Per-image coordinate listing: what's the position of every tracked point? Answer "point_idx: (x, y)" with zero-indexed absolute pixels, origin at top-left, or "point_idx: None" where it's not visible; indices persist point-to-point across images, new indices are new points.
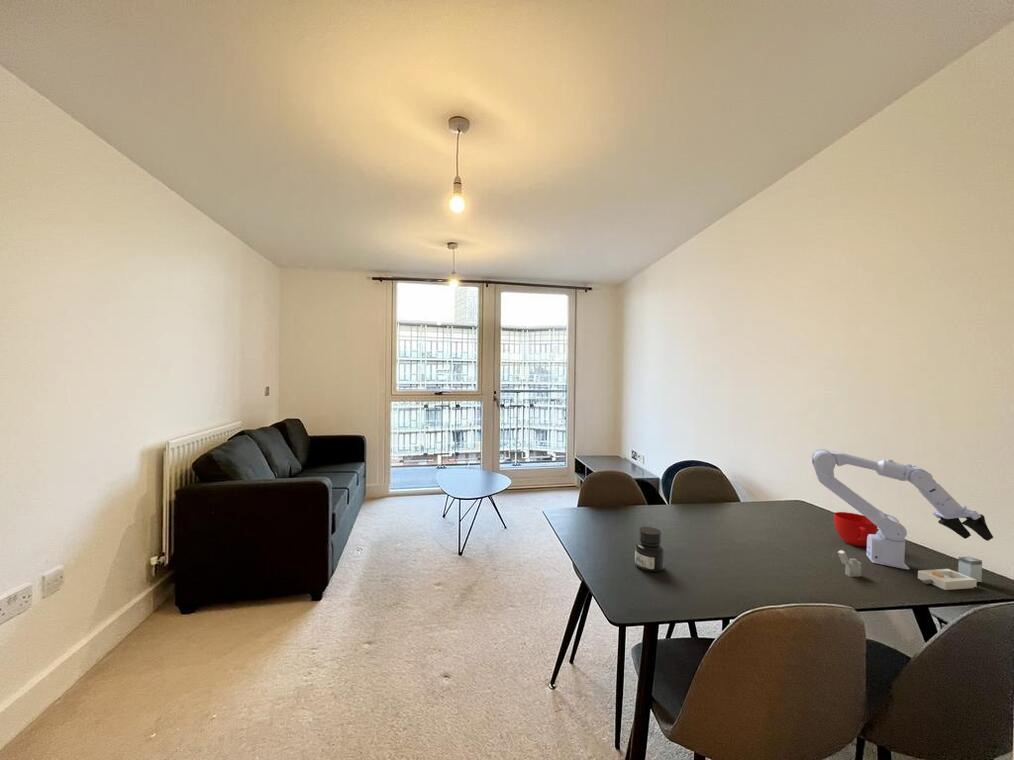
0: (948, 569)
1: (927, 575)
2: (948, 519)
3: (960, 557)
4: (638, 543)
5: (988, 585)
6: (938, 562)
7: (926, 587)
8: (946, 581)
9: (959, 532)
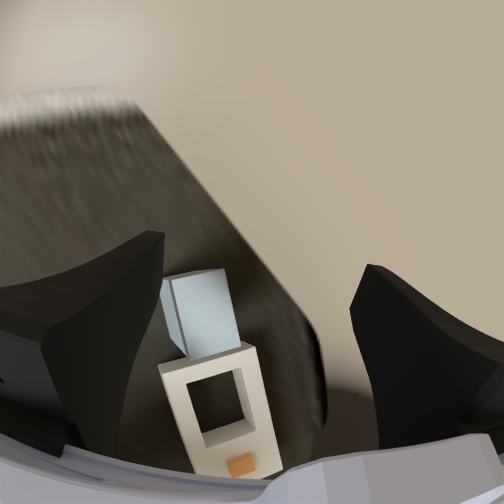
0: (171, 379)
1: None
2: (96, 442)
3: (194, 354)
4: None
5: (217, 268)
6: (18, 258)
7: None
8: (280, 464)
9: (143, 324)
